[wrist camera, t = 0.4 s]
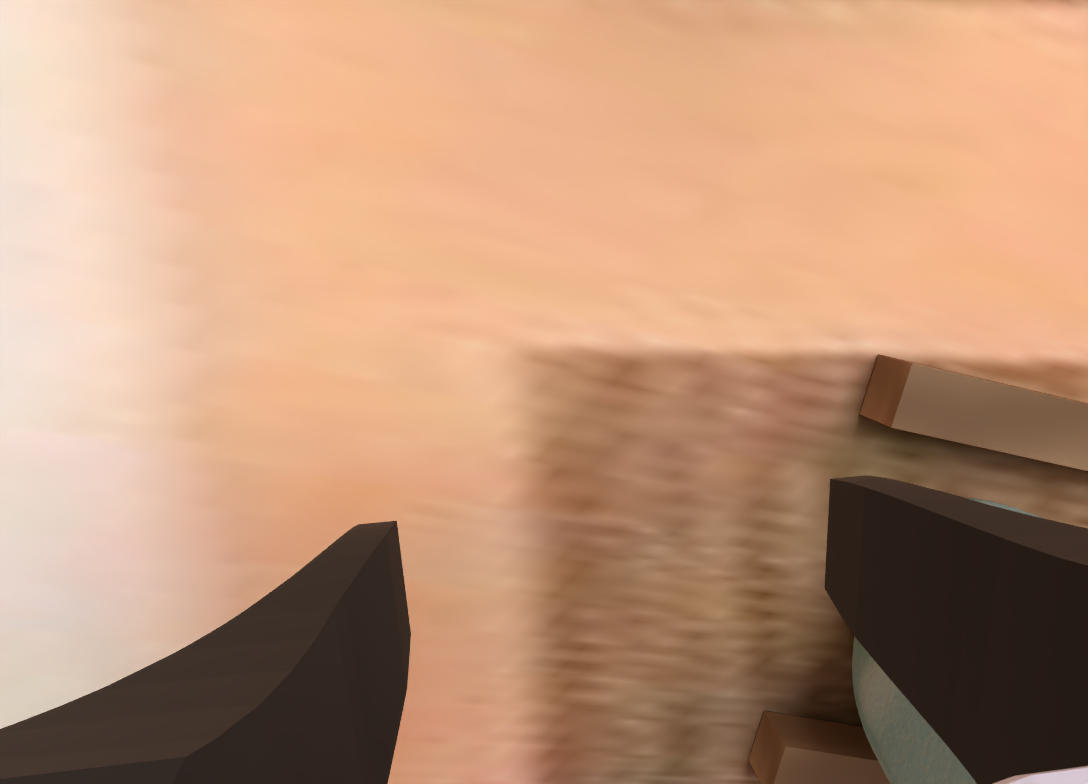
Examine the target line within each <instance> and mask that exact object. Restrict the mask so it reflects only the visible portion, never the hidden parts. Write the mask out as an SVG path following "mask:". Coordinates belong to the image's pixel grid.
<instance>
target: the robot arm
mask: <svg viewBox="0 0 1088 784" xmlns="http://www.w3.org/2000/svg"><path fill="white" fill-rule="evenodd" d="M825 590H826V591H827V593H828V595H829V596H830V598H831V600H832V601H833V603H834V605H835V606H836V608H837V610H838V611H839V613H840V615H841V616H842V618H843V619H844V621H845V622H846V624H847V625H848V627H849V629H850V630H851V632H852V633H853V635H854V636H855V638H856V639H857V640H858V641H859V643H860V644H861V645H862V646H863V647H864V649H865V650H866V651H867V652H868V654H869V655H870V656H871V657H872V658H873V659H874V661H875V662H876V663H877V664H878V665H879V667H880V668H881V669H882V670H883V671H884V673H885V674H886V675H887V676H888V677H889V679H890V680H891V681H892V682H893V683H894V684H895V686H896V687H897V688H898V689H899V690H900V691H901V692H902V694H903V695H904V696H905V697H906V698H907V699H908V701H909V702H910V703H911V704H912V705H913V706H914V708H915V709H916V710H917V711H918V712H919V713H920V715H921V716H922V717H923V718H924V719H925V720H926V722H927V723H928V724H929V725H930V726H931V727H932V729H933V730H934V731H935V732H936V733H937V734H938V736H939V737H940V738H941V739H942V740H943V741H944V743H945V744H946V745H947V746H948V747H949V748H950V750H951V751H952V752H953V754H954V755H955V756H956V757H957V759H958V760H959V761H960V762H961V764H962V765H963V766H964V767H965V769H966V770H967V771H968V772H969V774H970V775H971V776H972V778H973V779H974V780H975V782H976V783H977V784H1088V529H1087V528H1082V527H1078V526H1073V525H1069V524H1065V523H1060V522H1056V521H1052V520H1048V519H1044V518H1039V517H1035V516H1031V515H1027V514H1023V513H1019V512H1015V511H1011V510H1007V509H1003V508H1000V507H996V506H992V505H988V504H985V503H981V502H977V501H974V500H970V499H966V498H963V497H959V496H955V495H952V494H948V493H944V492H940V491H937V490H933V489H929V488H925V487H922V486H918V485H914V484H910V483H905V482H901V481H897V480H892V479H887V478H881V477H874V476H857V477H846V478H836V479H830V496H829V515H828V534H827V553H826V573H825ZM410 637H411V632H410V624H409V616H408V608H407V600H406V592H405V584H404V576H403V568H402V560H401V552H400V544H399V536H398V528H397V521H390V522H380V523H370V524H359V525H357V526H355V527H353V528H352V529H350V530H349V531H348V532H346V533H345V534H344V535H343V536H341V537H340V538H339V539H338V540H336V541H335V542H334V543H333V544H331V545H330V546H329V547H328V548H327V549H325V550H324V551H323V552H322V553H321V554H319V555H318V556H317V557H316V558H314V559H313V560H312V561H311V562H309V563H308V564H307V565H306V566H305V567H303V568H302V569H301V570H300V571H298V572H297V573H296V574H295V575H293V576H292V577H291V578H289V579H288V580H287V581H285V582H284V583H283V584H281V585H280V586H278V587H277V588H276V589H274V590H273V591H272V592H270V593H269V594H267V595H266V596H265V597H263V598H262V599H261V600H259V601H258V602H256V603H255V604H254V605H252V606H251V607H250V608H248V609H247V610H245V611H244V612H242V613H241V614H239V615H238V616H236V617H235V618H233V619H232V620H230V621H228V622H227V623H225V624H224V625H222V626H221V627H219V628H217V629H216V630H214V631H212V632H211V633H209V634H207V635H205V636H204V637H202V638H200V639H199V640H197V641H195V642H193V643H192V644H190V645H188V646H187V647H185V648H183V649H181V650H179V651H177V652H176V653H174V654H172V655H170V656H168V657H166V658H164V659H161V660H159V661H157V662H155V663H153V664H151V665H149V666H147V667H145V668H143V669H141V670H139V671H137V672H135V673H133V674H131V675H129V676H127V677H125V678H123V679H121V680H119V681H117V682H115V683H113V684H111V685H109V686H106V687H104V688H102V689H100V690H97V691H95V692H93V693H90V694H88V695H86V696H83V697H81V698H79V699H76V700H74V701H71V702H69V703H67V704H64V705H62V706H60V707H57V708H54V709H52V710H49V711H47V712H44V713H42V714H39V715H36V716H34V717H31V718H29V719H26V720H24V721H21V722H18V723H16V724H13V725H10V726H8V727H5V728H2V729H0V784H387V783H388V778H389V774H390V769H391V764H392V759H393V754H394V750H395V745H396V740H397V735H398V730H399V726H400V721H401V716H402V711H403V706H404V701H405V696H406V690H407V680H408V667H409V653H410Z"/></svg>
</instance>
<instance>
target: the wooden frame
mask: <svg viewBox="0 0 1088 784" xmlns="http://www.w3.org/2000/svg"><path fill="white" fill-rule="evenodd" d="M860 414H861V415H863V416H865V417H868V418H870V419H872V420H875V421H877V422H879V423H882V424H884V425H886V426H889V427H891V428H895V429H900V430H904V431H909V432H913V433H918V434H922V435H927V436H931V437H936V438H940V439H945V440H949V441H954V442H959V443H963V444H968V445H972V446H977V447H981V448H986V449H990V450H995V451H999V452H1004V453H1008V454H1013V455H1017V456H1022V457H1026V458H1031V459H1036V460H1040V461H1045V462H1049V463H1054V464H1058V465H1063V466H1067V467H1072V468H1076V469H1081V470H1085V471H1088V403H1084V402H1079V401H1075V400H1071V399H1067V398H1062V397H1058V396H1054V395H1050V394H1045V393H1041V392H1037V391H1032V390H1028V389H1024V388H1020V387H1015V386H1011V385H1007V384H1003V383H998V382H994V381H990V380H985V379H981V378H977V377H973V376H968V375H964V374H960V373H956V372H951V371H947V370H943V369H938V368H934V367H930V366H926V365H921V364H917V363H913V362H909V361H904V360H900V359H896V358H891V357H887V356H883V355H878V358H877V361H876V364H875V367H874V370H873V373H872V377H871V380H870V383H869V386H868V389H867V392H866V395H865V398H864V401H863V405H862V408H861V411H860ZM749 762H750V764H751V766H752V768H753V769H754V771H755V773H756V775H757V777H758V779H759V781H760V783H761V784H890V782H889V780H888V778H887V776H886V775H885V773H884V771H883V769H882V767H881V765H880V763H879V761H878V759H877V757H876V755H875V753H874V751H873V749H872V747H871V745H870V743H869V741H868V738H867V736H866V733H865V731H864V728H863V727H861V726H855V725H849V724H842V723H836V722H830V721H824V720H818V719H812V718H806V717H799V716H793V715H787V714H781V713H775V712H769V711H764V713H763V716H762V719H761V722H760V726H759V729H758V732H757V735H756V738H755V741H754V744H753V747H752V750H751V754H750V757H749Z"/></svg>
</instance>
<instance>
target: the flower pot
mask: <svg viewBox="0 0 1088 784" xmlns="http://www.w3.org/2000/svg"><path fill="white" fill-rule="evenodd" d="M966 499H970V498H966ZM970 500H974V501H977V502H981V503H985V504H988V505H992V506H996V507H1000V508H1003V509H1007V510H1011V511H1015V512H1019V513H1023V514H1027V515H1031V516H1035V517H1039V516H1036V515H1034V514H1031V513H1028V512H1025V511H1022V510H1019V509H1017V508H1013V507H1010V506H1006V505H1003V504H999V503H995V502H991V501H986V500H980V499H970ZM1039 518H1042V517H1039ZM1044 519H1045V518H1044ZM852 678H853V689H854V696H855V701H856V706H857V709H858V713H859V716H860V719H861V722H862V725H863V728H864V731H865V733H866V736H867V738H868V741H869V743H870V745H871V747H872V749H873V751H874V753H875V755H876V757H877V759H878V761H879V763H880V765H881V767H882V769H883V771H884V773H885V775H886V776H887V778H888V780H889V782H890V784H977V783H976V782H975V780H974V779H973V778H972V776H971V775H970V774H969V772H968V771H967V770H966V769H965V767H964V766H963V765H962V764H961V762H960V761H959V760H958V759H957V757H956V756H955V755H954V754H953V752H952V751H951V750H950V748H949V747H948V746H947V745H946V744H945V743H944V741H943V740H942V739H941V738H940V737H939V736H938V734H937V733H936V732H935V731H934V730H933V729H932V727H931V726H930V725H929V724H928V723H927V722H926V720H925V719H924V718H923V717H922V716H921V715H920V713H919V712H918V711H917V710H916V709H915V708H914V706H913V705H912V704H911V703H910V702H909V701H908V699H907V698H906V697H905V696H904V695H903V694H902V692H901V691H900V690H899V689H898V688H897V687H896V686H895V684H894V683H893V682H892V681H891V680H890V679H889V677H888V676H887V675H886V674H885V673H884V671H883V670H882V669H881V668H880V667H879V665H878V664H877V663H876V662H875V661H874V659H873V658H872V657H871V656H870V655H869V654H868V652H867V651H866V650H865V649H864V647H863V646H862V645H861V644H860V643H859V641H858V640H857V639H856V638H855V637H854V645H853V656H852Z"/></svg>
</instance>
